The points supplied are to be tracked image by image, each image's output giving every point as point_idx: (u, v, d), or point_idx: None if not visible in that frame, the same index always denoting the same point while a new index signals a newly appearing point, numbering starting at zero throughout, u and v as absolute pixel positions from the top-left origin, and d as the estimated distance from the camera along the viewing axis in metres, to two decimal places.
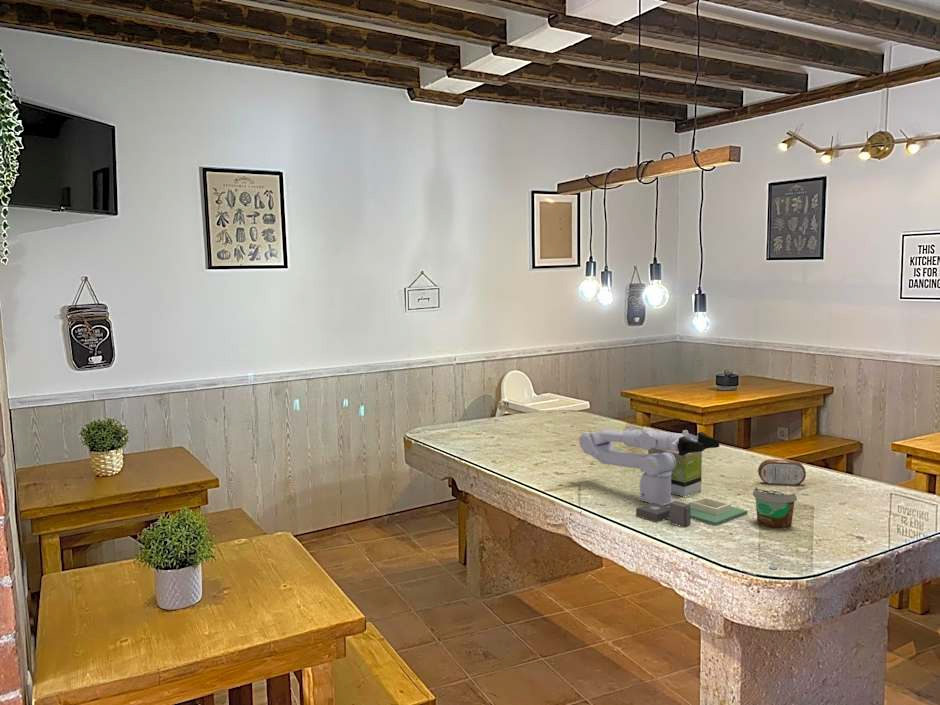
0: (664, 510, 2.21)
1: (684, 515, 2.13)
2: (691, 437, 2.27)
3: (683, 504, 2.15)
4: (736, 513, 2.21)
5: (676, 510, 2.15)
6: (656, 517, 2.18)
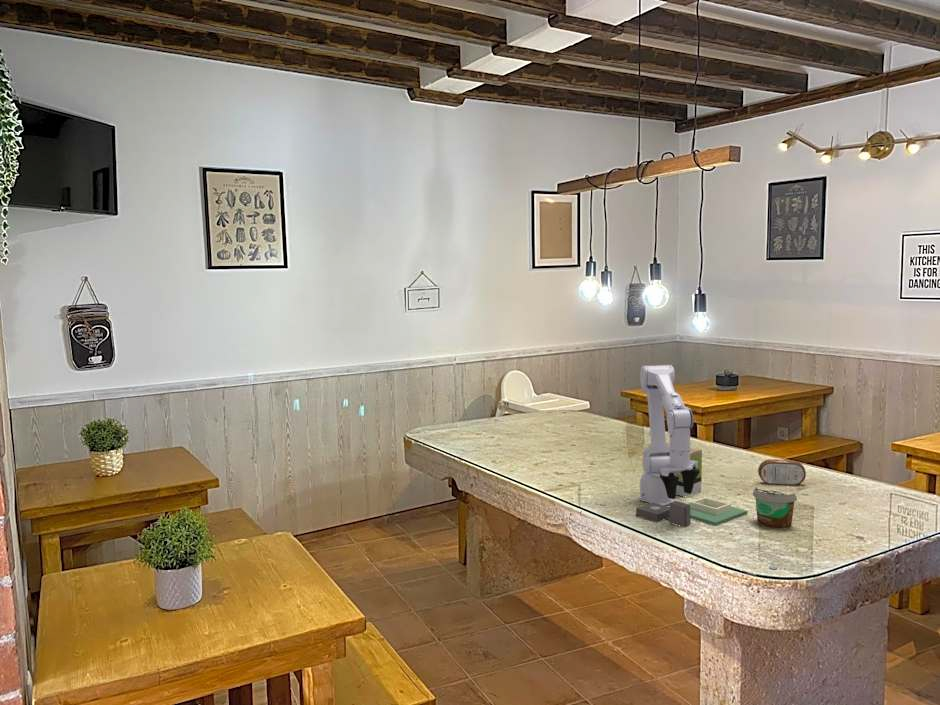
0: (664, 510, 2.21)
1: (684, 515, 2.13)
2: None
3: (683, 504, 2.15)
4: (736, 513, 2.21)
5: (676, 510, 2.15)
6: (656, 517, 2.18)
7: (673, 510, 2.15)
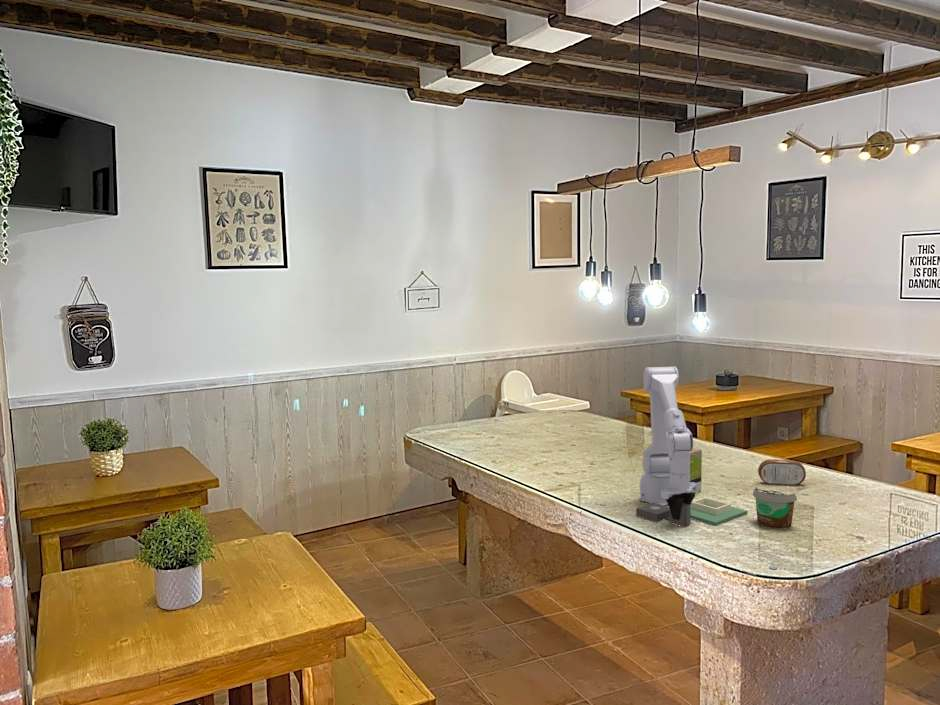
0: (664, 510, 2.21)
1: (684, 515, 2.13)
2: None
3: (683, 504, 2.15)
4: (736, 513, 2.21)
5: None
6: (656, 517, 2.18)
7: None
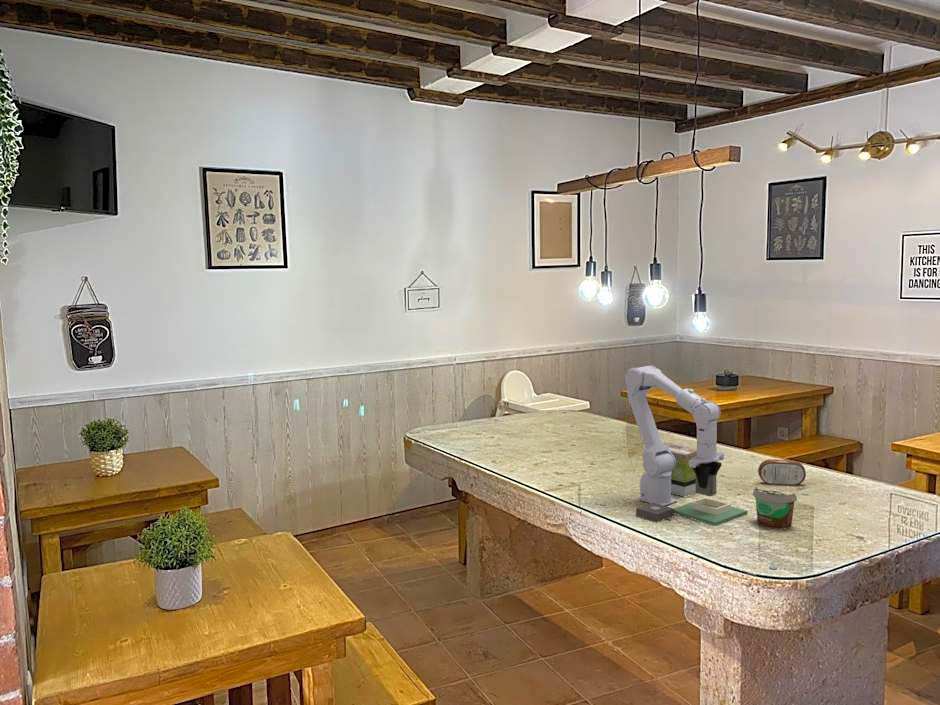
0: (664, 510, 2.21)
1: (710, 485, 2.20)
2: None
3: (709, 474, 2.22)
4: (736, 513, 2.21)
5: None
6: (656, 517, 2.18)
7: None
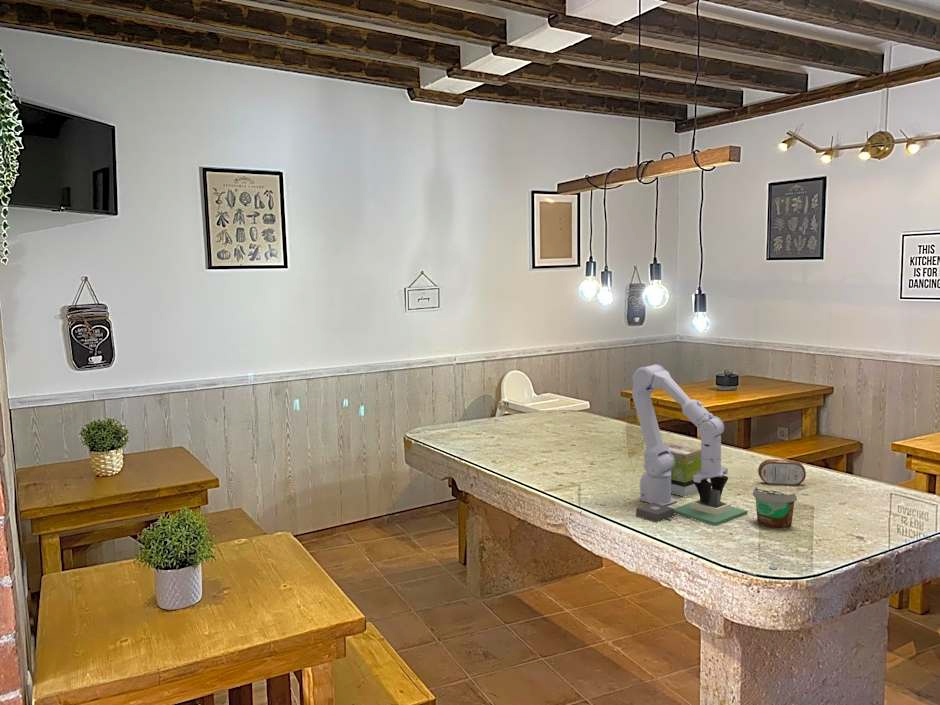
0: (664, 510, 2.21)
1: (714, 500, 2.22)
2: None
3: (713, 490, 2.24)
4: (736, 513, 2.21)
5: None
6: (656, 517, 2.18)
7: None
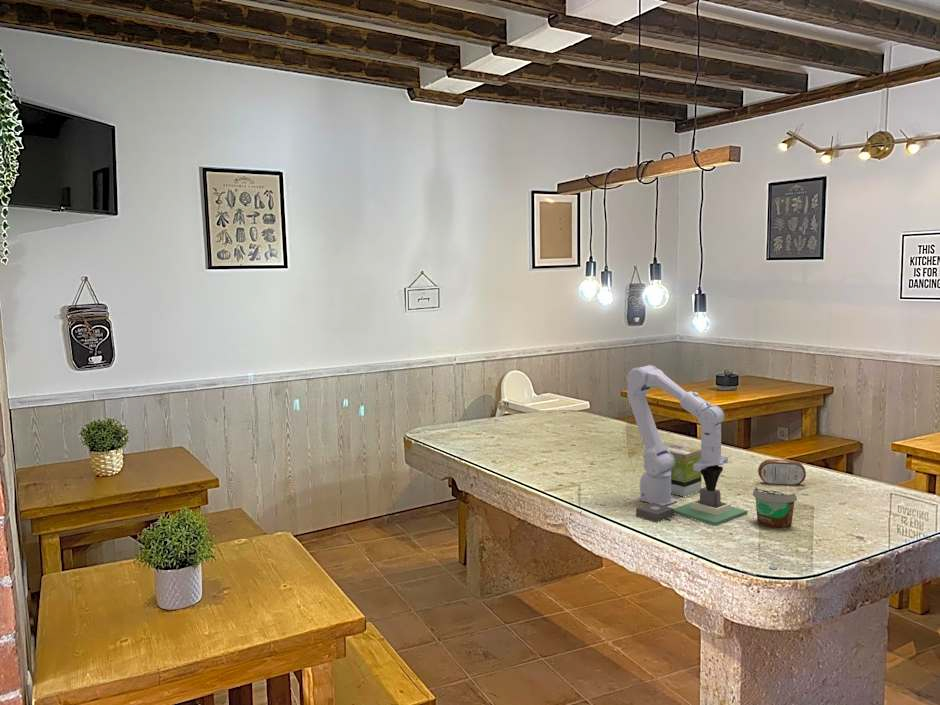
0: (664, 510, 2.21)
1: (714, 500, 2.22)
2: None
3: None
4: (736, 513, 2.21)
5: (706, 496, 2.24)
6: (656, 517, 2.18)
7: (703, 496, 2.24)
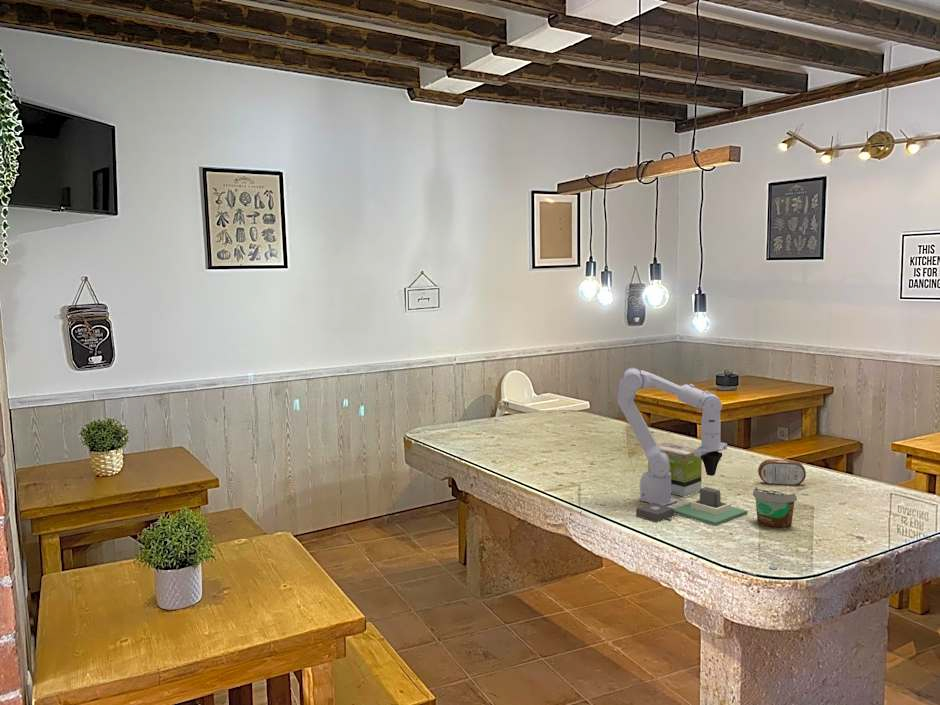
0: (664, 510, 2.21)
1: (714, 500, 2.22)
2: None
3: (713, 490, 2.24)
4: (736, 513, 2.21)
5: (706, 496, 2.24)
6: (656, 517, 2.18)
7: (703, 496, 2.24)
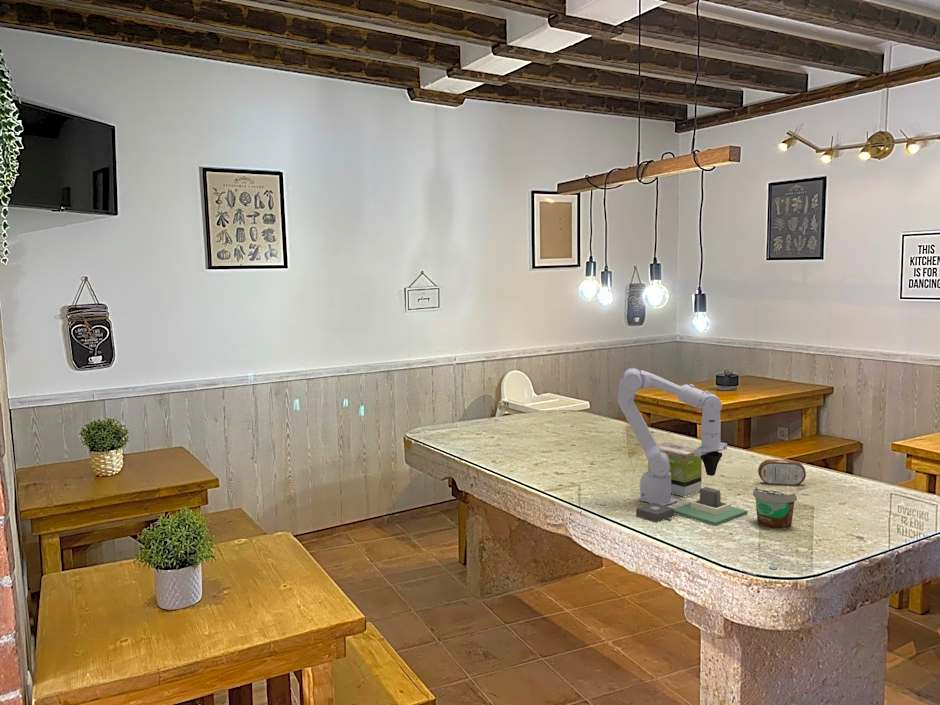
0: (664, 510, 2.21)
1: (714, 500, 2.22)
2: None
3: (713, 490, 2.24)
4: (736, 513, 2.21)
5: (706, 496, 2.24)
6: (656, 517, 2.18)
7: (703, 496, 2.24)
